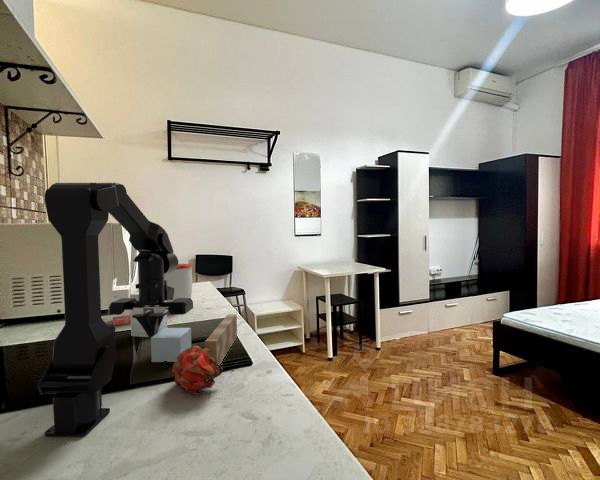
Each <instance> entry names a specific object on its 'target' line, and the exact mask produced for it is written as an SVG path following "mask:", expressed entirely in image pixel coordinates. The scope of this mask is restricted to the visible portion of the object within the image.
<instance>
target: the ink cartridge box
mask: <svg viewBox="0 0 600 480" xmlns="http://www.w3.org/2000/svg"><path fill="white" fill-rule="evenodd" d="M111 286H112V287H111V297H112V298H111V299H112V301H111V303H112V302H114V301H117V300H119V299H121V298H130V295H131V294H132V285H131V284H128V285H126V284H125V285H117V277H115V278H114V279H113V280H112V285H111ZM112 324H113V325H114V326H120V325H121V326H122V325H129V324H131V310H125V311H124V312H123V313H122V314H120V315H112Z"/></svg>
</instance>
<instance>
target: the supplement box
mask: <svg viewBox="0 0 600 480" xmlns="http://www.w3.org/2000/svg"><path fill="white" fill-rule="evenodd" d="M130 298H135V299H136V300H137V301H138V300H139V291H137V292H135V293H131V295H130ZM165 302H167V300H165ZM155 306H156V305H155ZM158 306H159V305H158ZM133 315H134V310H131V320H130V336H131V337H141V338H143V337H144V338H149V337H148V335H147V334H146V332H145V330H144V329H143V327H142V326H141V324H140V323H139V322H138V321H137V319H136V318H132V316H133ZM164 328H168V314H167V315H165V316H164V318H163V320H162V322H161V325H160V327H159V330H158V332H159V331H161V330H162V329H164Z"/></svg>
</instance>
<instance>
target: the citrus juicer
mask: <svg viewBox="0 0 600 480" xmlns="http://www.w3.org/2000/svg"><path fill="white" fill-rule="evenodd" d="M192 267H193V265H192V264H189V263H178V266H177V268H176V269H175V270H173V271H171V272H168V273H166V274H164V280H166V282H167V286H170V287H173V288H175V290H174V298H173V300H175V299H176V298H191V299H192V293H193V274H192V272H193V269H192ZM173 300H167V302H171V301H173Z"/></svg>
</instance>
